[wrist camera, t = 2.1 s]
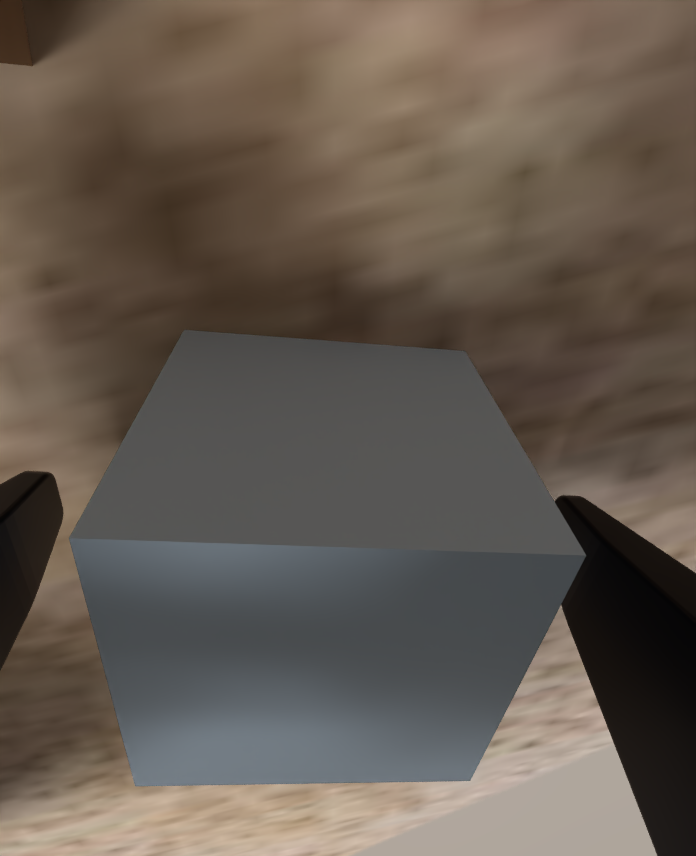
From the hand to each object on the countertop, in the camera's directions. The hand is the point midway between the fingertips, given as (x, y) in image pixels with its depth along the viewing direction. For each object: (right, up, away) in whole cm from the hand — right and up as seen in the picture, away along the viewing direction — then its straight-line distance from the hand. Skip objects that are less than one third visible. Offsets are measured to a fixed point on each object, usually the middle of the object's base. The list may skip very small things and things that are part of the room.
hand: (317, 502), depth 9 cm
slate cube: (0, +1, +1) cm, 2 cm away
